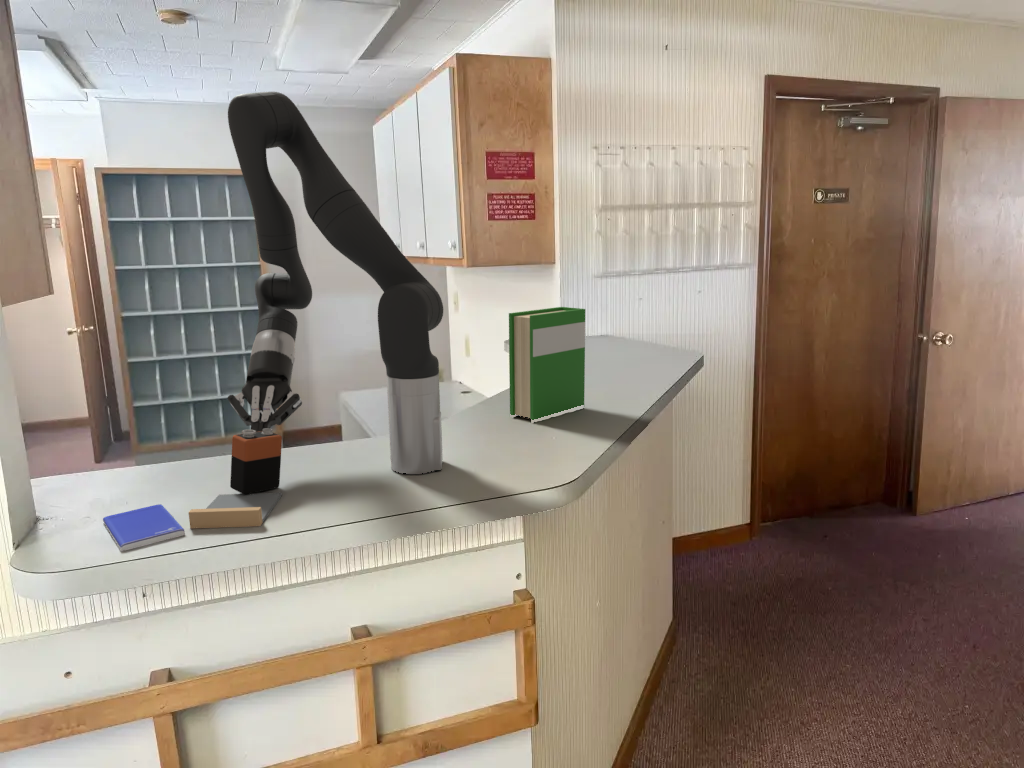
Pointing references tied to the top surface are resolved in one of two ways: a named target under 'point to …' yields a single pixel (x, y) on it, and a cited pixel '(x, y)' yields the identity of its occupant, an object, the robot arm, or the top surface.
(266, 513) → the dough scraper
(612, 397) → the top surface
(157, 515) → the hard drive
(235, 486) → the battery
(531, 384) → the hardback book
